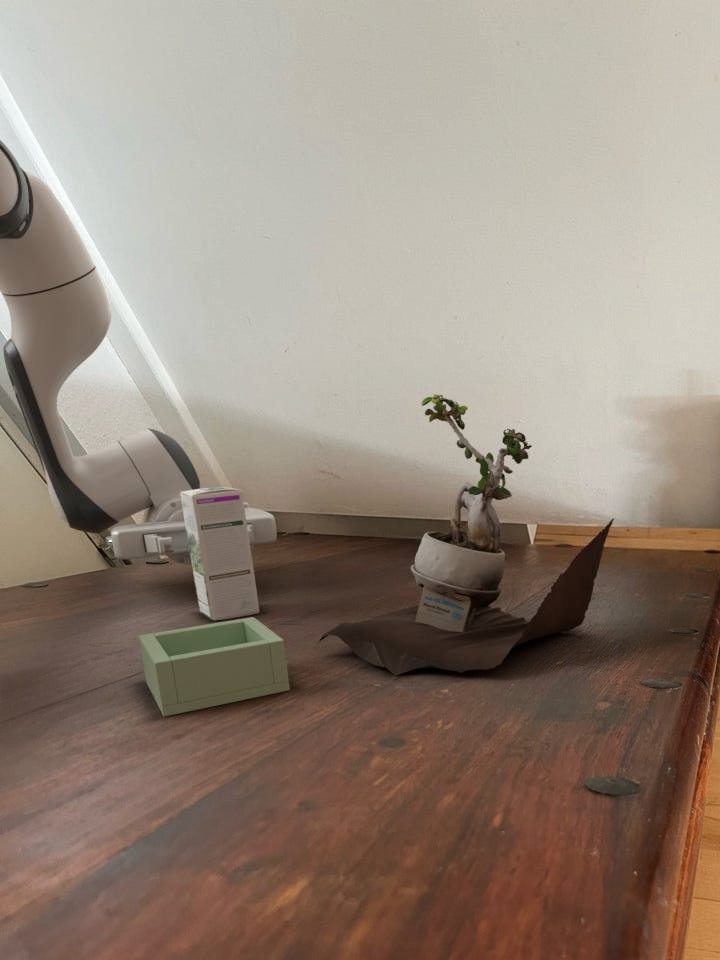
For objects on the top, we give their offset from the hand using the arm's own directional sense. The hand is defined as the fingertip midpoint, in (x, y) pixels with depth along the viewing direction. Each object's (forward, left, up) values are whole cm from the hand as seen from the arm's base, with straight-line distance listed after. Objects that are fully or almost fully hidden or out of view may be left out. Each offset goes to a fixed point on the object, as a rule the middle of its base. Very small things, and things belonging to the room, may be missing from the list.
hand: (207, 541), depth 94 cm
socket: (-7, -33, -8) cm, 35 cm away
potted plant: (+16, -35, -8) cm, 40 cm away
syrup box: (0, -6, -8) cm, 10 cm away
